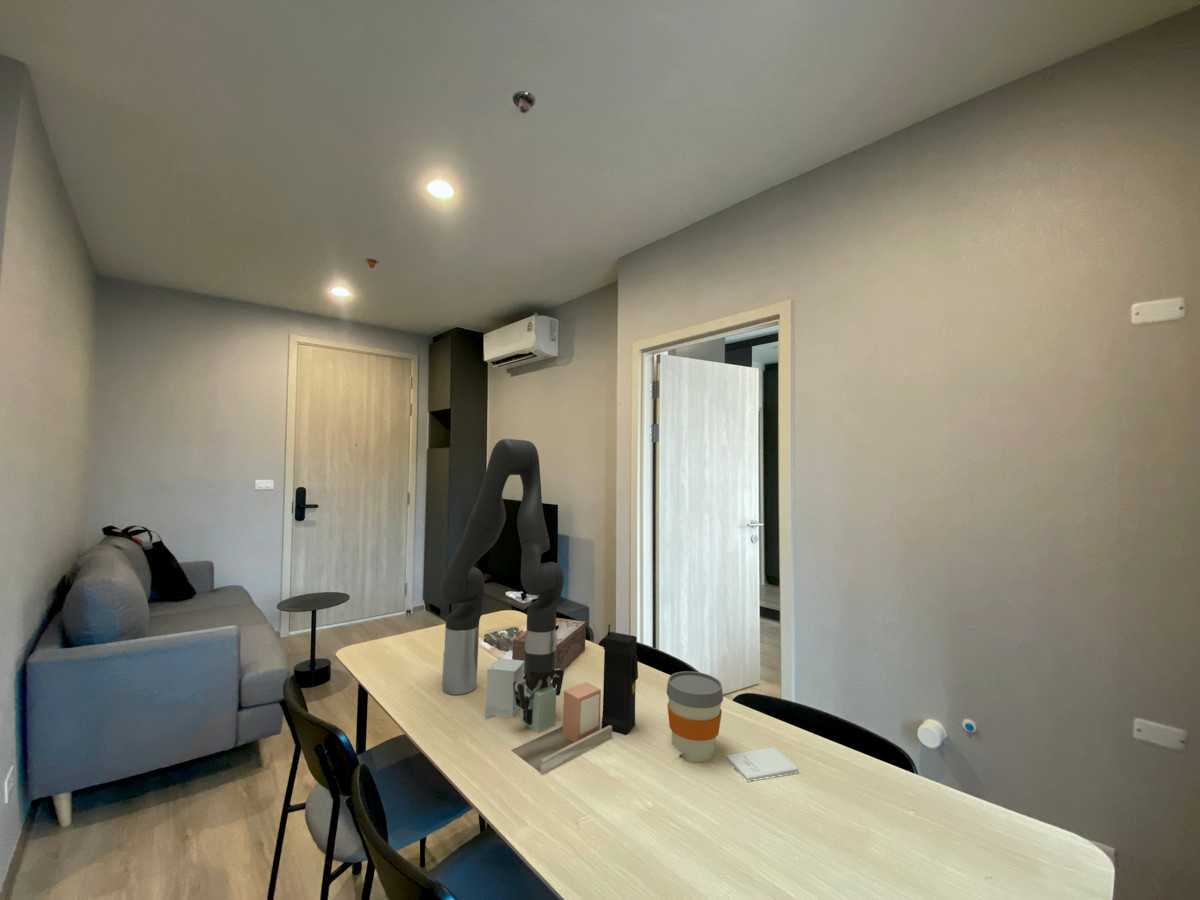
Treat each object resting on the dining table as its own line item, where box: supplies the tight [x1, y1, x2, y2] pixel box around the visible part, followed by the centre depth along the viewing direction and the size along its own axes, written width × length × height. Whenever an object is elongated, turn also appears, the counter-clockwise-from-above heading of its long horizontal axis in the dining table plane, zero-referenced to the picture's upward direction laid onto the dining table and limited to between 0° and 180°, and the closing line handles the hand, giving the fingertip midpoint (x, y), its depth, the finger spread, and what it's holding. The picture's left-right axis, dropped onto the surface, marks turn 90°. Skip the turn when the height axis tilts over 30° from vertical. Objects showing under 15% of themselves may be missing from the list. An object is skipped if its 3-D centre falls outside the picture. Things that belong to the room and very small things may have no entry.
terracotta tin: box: [562, 681, 602, 743], centre depth 110 cm, size 5×7×10 cm
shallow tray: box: [510, 725, 613, 775], centre depth 106 cm, size 11×20×4 cm, turn 135°
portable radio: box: [601, 624, 639, 736], centre depth 114 cm, size 8×6×25 cm
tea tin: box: [520, 685, 557, 734], centre depth 114 cm, size 5×7×10 cm
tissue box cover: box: [511, 617, 587, 679], centre depth 157 cm, size 26×14×10 cm, turn 161°
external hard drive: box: [725, 746, 799, 781], centre depth 102 cm, size 2×8×12 cm
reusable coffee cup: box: [666, 671, 724, 763], centre depth 108 cm, size 13×13×15 cm
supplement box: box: [484, 657, 525, 721], centre depth 121 cm, size 7×7×13 cm
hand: (537, 719), depth 114 cm, fingers closed on tea tin, 5 cm apart
